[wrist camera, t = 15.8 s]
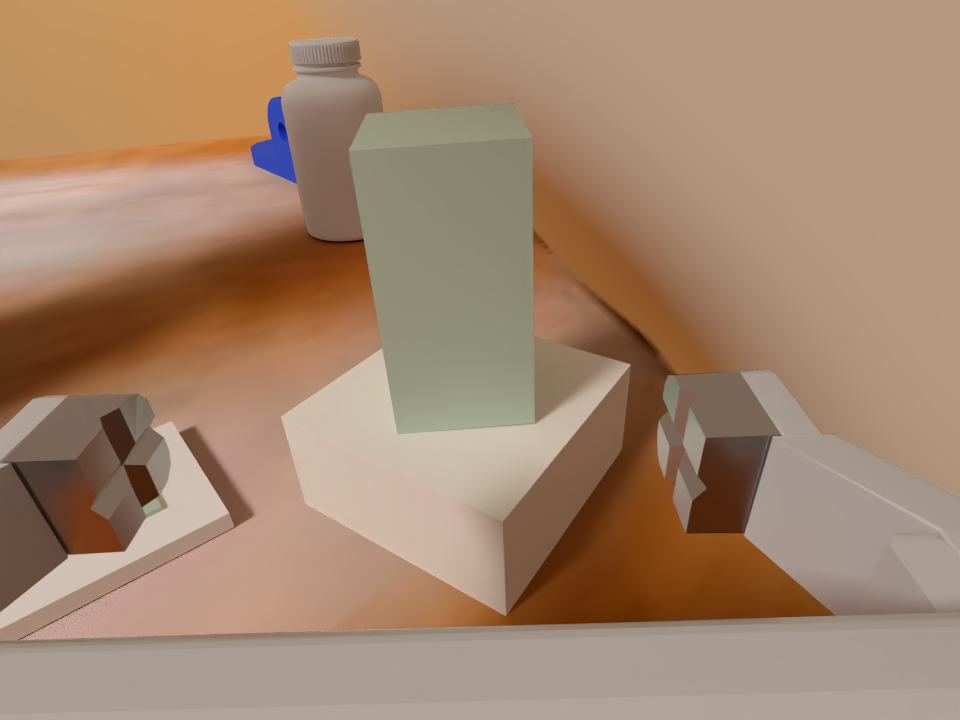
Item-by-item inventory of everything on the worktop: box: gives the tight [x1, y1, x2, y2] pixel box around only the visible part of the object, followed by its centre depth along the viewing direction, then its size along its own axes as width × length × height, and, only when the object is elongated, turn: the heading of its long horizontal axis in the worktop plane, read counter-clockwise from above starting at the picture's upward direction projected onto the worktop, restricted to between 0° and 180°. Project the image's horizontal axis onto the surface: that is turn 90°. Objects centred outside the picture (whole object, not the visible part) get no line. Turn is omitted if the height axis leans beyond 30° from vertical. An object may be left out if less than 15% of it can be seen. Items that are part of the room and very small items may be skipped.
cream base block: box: [281, 337, 631, 616], centre depth 25 cm, size 10×10×5 cm
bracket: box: [251, 97, 297, 183], centre depth 71 cm, size 18×8×9 cm, turn 40°
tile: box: [0, 421, 234, 641], centre depth 25 cm, size 8×8×1 cm
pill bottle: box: [281, 38, 383, 241], centre depth 50 cm, size 8×8×15 cm
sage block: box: [348, 103, 535, 434], centre depth 21 cm, size 5×5×10 cm
